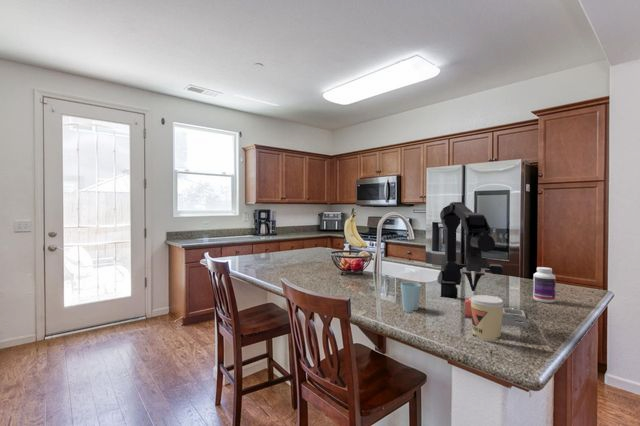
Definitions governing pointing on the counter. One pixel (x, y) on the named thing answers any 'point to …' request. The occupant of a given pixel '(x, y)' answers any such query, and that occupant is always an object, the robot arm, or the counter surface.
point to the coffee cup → (486, 317)
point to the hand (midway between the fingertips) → (473, 290)
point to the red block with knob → (468, 307)
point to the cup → (410, 296)
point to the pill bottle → (544, 285)
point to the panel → (510, 317)
